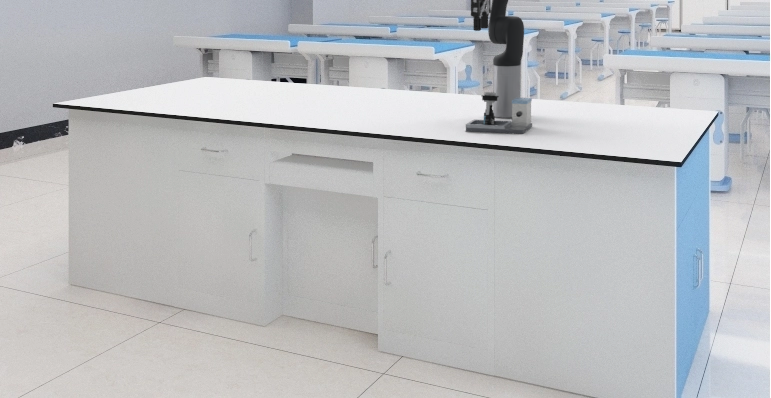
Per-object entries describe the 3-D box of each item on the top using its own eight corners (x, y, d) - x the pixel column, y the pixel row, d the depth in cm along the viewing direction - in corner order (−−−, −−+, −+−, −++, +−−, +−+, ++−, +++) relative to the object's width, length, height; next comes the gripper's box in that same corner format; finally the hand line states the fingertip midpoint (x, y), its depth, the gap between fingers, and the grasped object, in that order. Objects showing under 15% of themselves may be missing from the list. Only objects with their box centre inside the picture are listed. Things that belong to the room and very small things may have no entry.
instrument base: (477, 124, 300) (477, 96, 298) (532, 126, 294) (532, 97, 292) (465, 131, 289) (465, 101, 286) (522, 134, 282) (523, 103, 280)
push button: (492, 125, 286) (494, 92, 285) (476, 124, 288) (477, 91, 287) (499, 125, 292) (501, 93, 291) (482, 124, 294) (484, 92, 293)
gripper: (475, -26, 288) (475, 27, 293) (462, -24, 276) (462, 31, 280) (498, -26, 286) (498, 27, 290) (486, -25, 273) (487, 31, 277)
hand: (481, 29), depth 285 cm, fingers open, 8 cm apart
